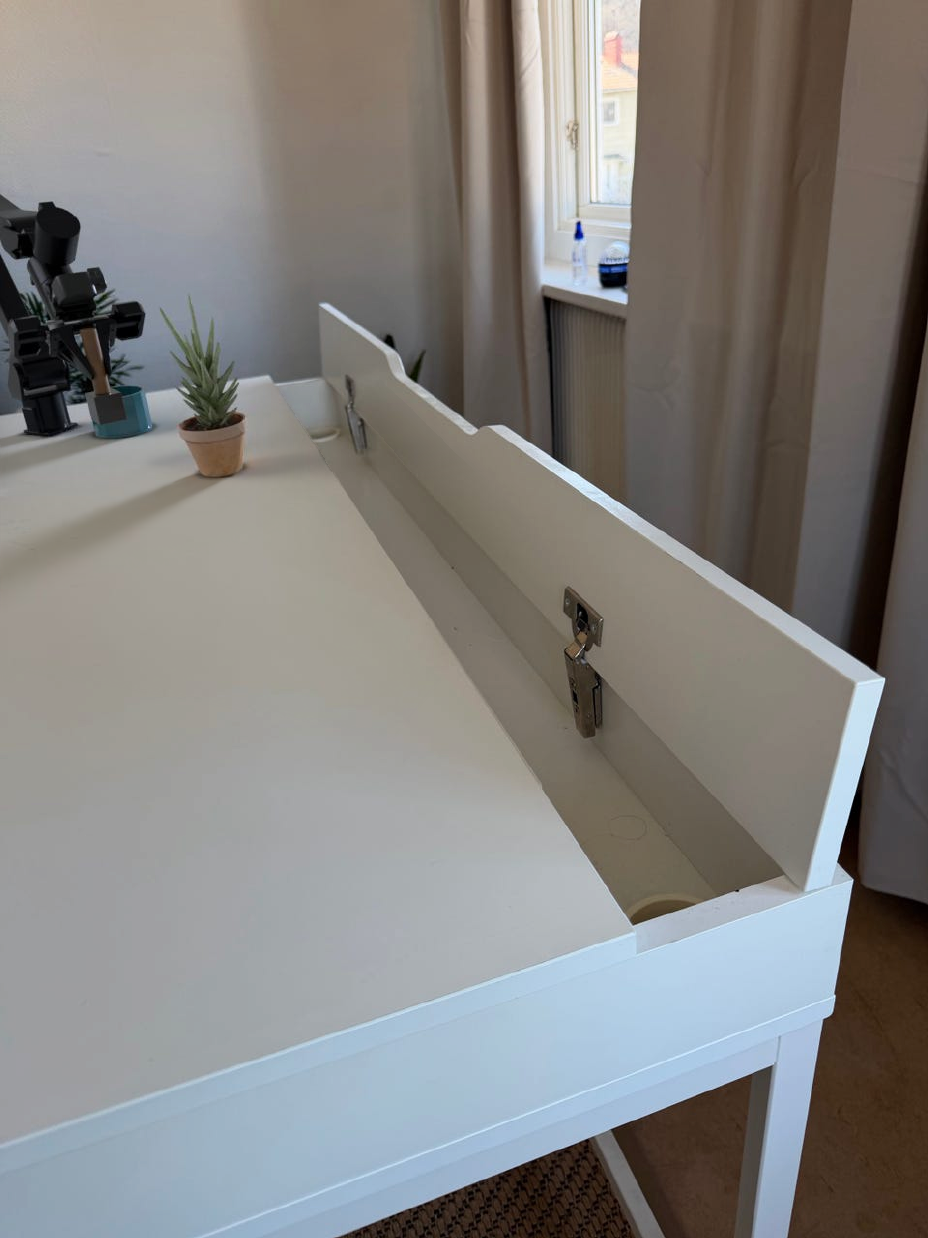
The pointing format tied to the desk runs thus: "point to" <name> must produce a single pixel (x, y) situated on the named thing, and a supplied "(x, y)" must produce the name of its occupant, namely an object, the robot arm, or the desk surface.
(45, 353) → the robot arm
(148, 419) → the teal paint pail
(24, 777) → the desk surface
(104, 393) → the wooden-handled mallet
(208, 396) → the potted plant
